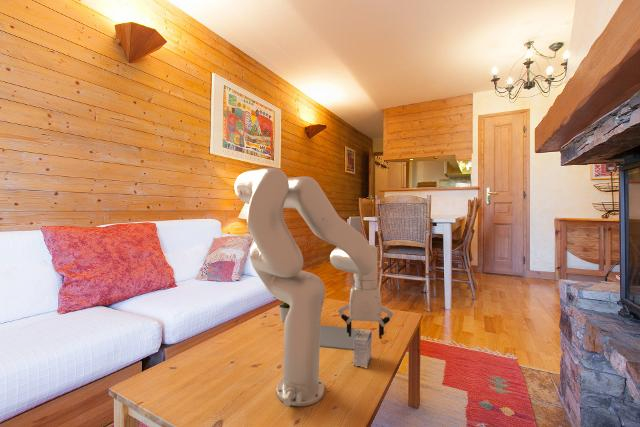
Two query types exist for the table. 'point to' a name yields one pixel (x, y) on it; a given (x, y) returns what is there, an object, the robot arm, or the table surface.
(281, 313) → the house plant
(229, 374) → the table surface
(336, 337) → the mat
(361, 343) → the medicine box
